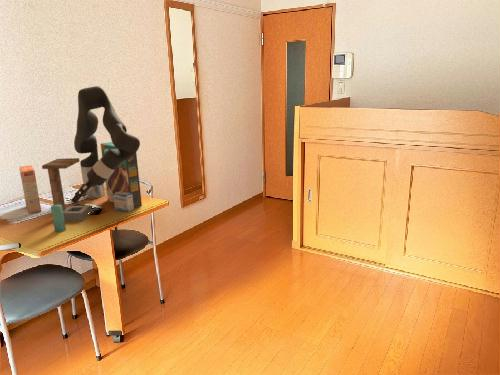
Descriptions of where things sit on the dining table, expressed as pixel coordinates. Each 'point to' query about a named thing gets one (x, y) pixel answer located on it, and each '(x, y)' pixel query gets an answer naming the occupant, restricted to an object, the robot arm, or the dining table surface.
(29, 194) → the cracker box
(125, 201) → the medicine box
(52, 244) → the dining table surface
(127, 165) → the cake mix box
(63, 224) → the peg
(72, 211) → the socket block
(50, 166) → the wooden pedestal stand
